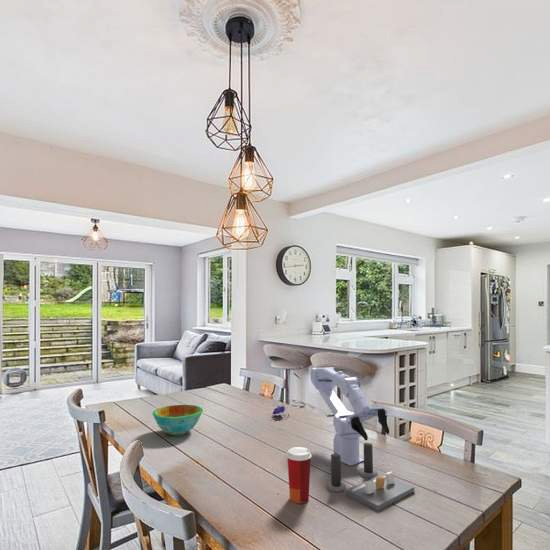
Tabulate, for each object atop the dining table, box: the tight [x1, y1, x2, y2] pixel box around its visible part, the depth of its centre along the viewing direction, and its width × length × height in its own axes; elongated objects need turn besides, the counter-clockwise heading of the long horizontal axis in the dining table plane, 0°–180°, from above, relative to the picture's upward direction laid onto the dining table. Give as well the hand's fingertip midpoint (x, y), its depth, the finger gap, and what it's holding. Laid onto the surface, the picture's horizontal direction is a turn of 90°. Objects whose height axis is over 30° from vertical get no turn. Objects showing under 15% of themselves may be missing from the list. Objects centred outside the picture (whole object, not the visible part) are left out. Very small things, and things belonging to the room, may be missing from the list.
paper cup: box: [285, 446, 312, 504], centre depth 118 cm, size 8×8×14 cm
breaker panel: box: [345, 473, 415, 512], centre depth 120 cm, size 12×18×2 cm, turn 128°
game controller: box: [268, 404, 290, 418], centre depth 202 cm, size 10×8×10 cm
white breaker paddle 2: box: [384, 471, 395, 484], centre depth 124 cm, size 1×3×3 cm, turn 128°
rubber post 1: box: [326, 453, 347, 493], centre depth 124 cm, size 6×6×10 cm
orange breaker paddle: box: [375, 476, 385, 489], centre depth 121 cm, size 1×3×3 cm, turn 128°
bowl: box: [151, 404, 204, 437], centre depth 177 cm, size 22×22×10 cm
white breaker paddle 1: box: [364, 479, 375, 494], centre depth 117 cm, size 1×3×3 cm, turn 128°
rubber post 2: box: [359, 442, 379, 479], centre depth 134 cm, size 6×6×10 cm
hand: (377, 435), depth 128 cm, fingers open, 7 cm apart
